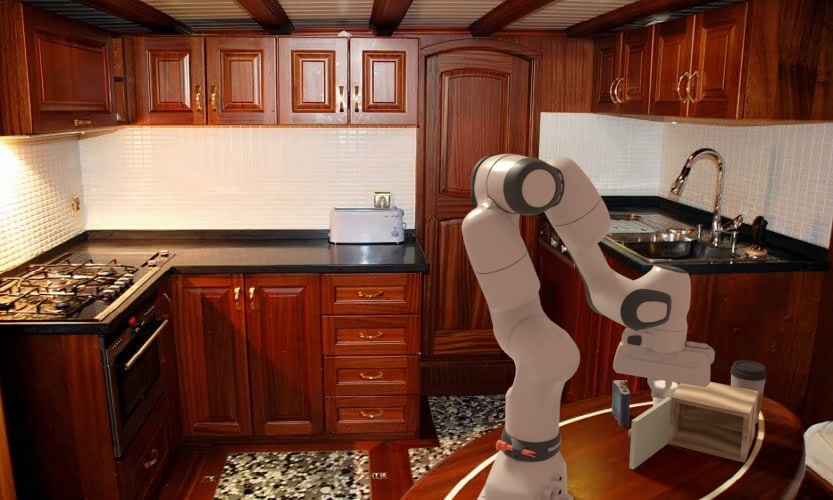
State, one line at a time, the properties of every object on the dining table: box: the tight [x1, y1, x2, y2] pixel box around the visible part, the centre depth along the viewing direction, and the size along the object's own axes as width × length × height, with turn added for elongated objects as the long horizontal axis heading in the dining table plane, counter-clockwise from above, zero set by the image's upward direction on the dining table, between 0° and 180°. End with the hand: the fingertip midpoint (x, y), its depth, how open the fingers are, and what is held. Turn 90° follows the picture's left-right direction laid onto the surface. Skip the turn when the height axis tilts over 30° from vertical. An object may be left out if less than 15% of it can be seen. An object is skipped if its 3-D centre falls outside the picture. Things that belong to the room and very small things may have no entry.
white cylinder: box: [652, 379, 680, 407], centre depth 187 cm, size 7×7×7 cm
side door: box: [627, 397, 671, 470], centre depth 162 cm, size 2×17×12 cm, turn 135°
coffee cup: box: [729, 359, 768, 424], centre depth 179 cm, size 8×8×15 cm
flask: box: [611, 379, 631, 428], centre depth 181 cm, size 9×3×11 cm, turn 1°
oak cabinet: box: [667, 381, 759, 463], centre depth 169 cm, size 14×17×12 cm
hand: (658, 397), depth 157 cm, fingers closed
